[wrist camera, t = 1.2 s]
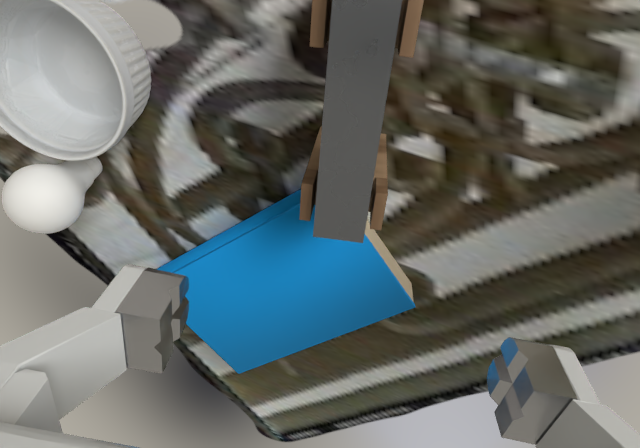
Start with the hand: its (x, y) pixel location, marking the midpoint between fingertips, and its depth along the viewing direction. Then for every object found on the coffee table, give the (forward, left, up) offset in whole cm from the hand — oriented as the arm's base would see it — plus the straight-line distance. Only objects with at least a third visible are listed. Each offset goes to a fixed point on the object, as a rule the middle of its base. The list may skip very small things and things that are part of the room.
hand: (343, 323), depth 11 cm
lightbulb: (+27, +13, -30) cm, 42 cm away
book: (+7, +24, -31) cm, 40 cm away
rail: (+1, +2, -21) cm, 21 cm away
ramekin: (+25, +3, -30) cm, 39 cm away
